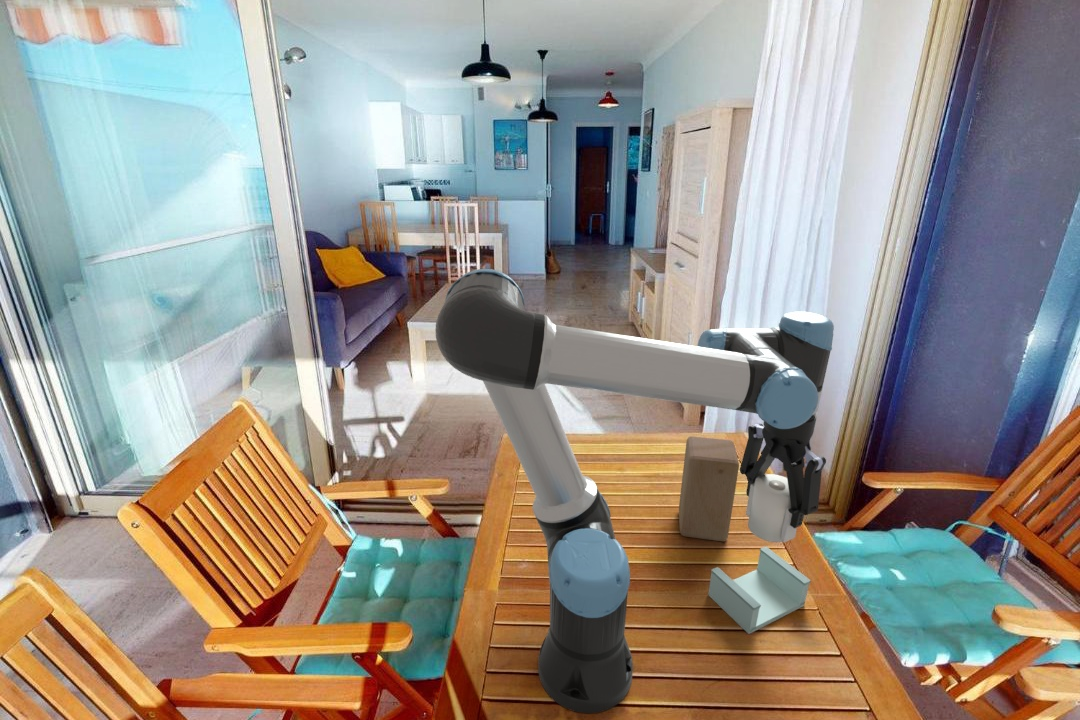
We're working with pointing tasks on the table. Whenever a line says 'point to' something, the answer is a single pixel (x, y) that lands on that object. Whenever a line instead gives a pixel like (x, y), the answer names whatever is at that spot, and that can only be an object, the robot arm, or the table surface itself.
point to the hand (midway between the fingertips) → (769, 525)
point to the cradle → (760, 592)
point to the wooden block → (708, 488)
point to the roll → (769, 507)
